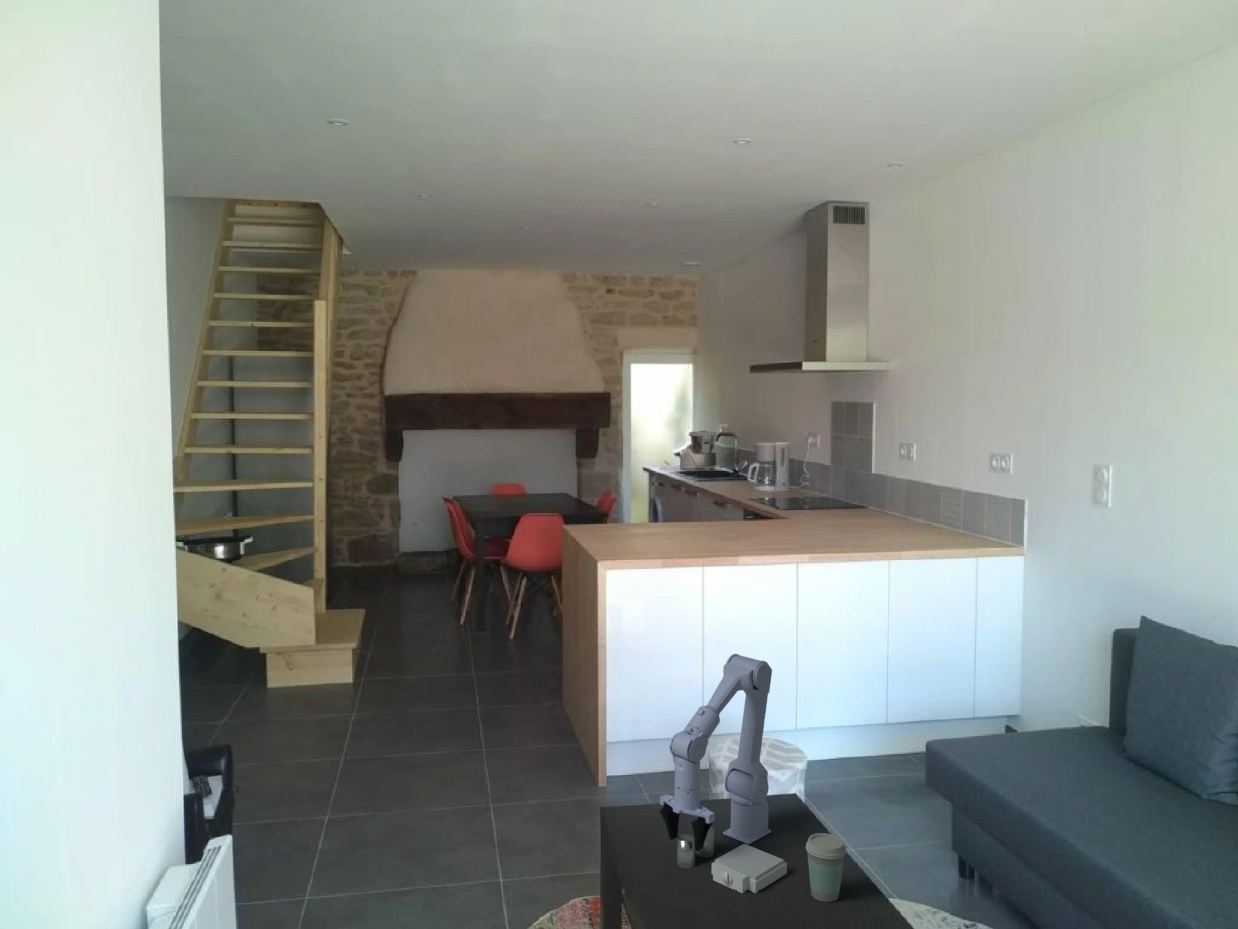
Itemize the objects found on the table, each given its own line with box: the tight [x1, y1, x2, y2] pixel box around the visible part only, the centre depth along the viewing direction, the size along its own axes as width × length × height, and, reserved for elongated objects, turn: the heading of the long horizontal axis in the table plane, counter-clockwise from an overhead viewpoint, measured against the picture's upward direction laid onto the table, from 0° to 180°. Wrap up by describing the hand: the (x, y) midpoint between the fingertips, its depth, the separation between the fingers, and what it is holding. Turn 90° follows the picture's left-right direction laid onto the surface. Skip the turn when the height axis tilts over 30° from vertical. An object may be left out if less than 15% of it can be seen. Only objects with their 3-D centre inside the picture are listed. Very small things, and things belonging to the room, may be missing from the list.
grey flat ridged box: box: [711, 843, 788, 894], centre depth 208 cm, size 14×12×3 cm
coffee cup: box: [805, 832, 847, 903], centre depth 200 cm, size 8×9×12 cm
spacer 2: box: [696, 825, 715, 859], centre depth 218 cm, size 4×4×6 cm
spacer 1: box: [676, 834, 696, 869], centre depth 213 cm, size 4×4×6 cm
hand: (686, 843), depth 213 cm, fingers open, 7 cm apart
